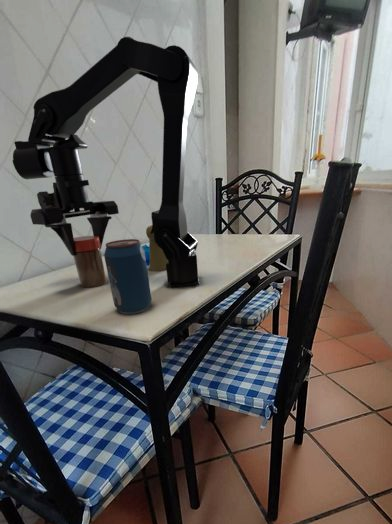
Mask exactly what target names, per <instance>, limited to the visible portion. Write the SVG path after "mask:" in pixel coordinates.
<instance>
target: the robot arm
mask: <svg viewBox="0 0 392 524" xmlns="http://www.w3.org/2000/svg"><path fill="white" fill-rule="evenodd" d="M196 67H197V66H195V64H194V62H193V61H192V59H191V58H190V57H189V55H188V53H187V51H185V49H183V47H181V46H180V45H179V46H178V45H175V44H173V45H168V46H167V47H165V48H163V47H161V46H159V45H156V44H153V43H150V42H145V41H139V40H136V39H134V38H133V37H131V36H123V37H122V38H120V39H119V40H118V42H117V45H115V46H114V47H113V48H112V49H111V50H109V52H107V53H106V54H105V55H104V56H102V57H101V59H99V60H98V61H97V62H96V63H94V64H93V65H92V66H91V67H89V68H88V70H86V71H85V72H84V73H83V74H82V75H80V76H79V77H78V78H77V79H76V80H75V81H74V82H73V83H71V84H70V85H69V86H67V87H65V88H61V89H57V90H54V91H51V92H49V93H47V94H45V95H43V96H40V98H38V99H37V100H36V101H35V102H34V103H33V107H32V108H33V117H32V118H33V119H32V122H31V126H30V130H29V134H28V138H27V141H26V140H25V141H22V140H17V141H14V146H15V149H13V152H12V164H13V167H14V169H15V171H16V173H17V174H18V176H20V177H21V178H22V179H25V180H34V179H35V180H36V179H47V178H49V179H50V178H52V177H53V176H54V180H55V182H52V189H53V192H50V193H49V192H48V191H47V190H46V191H45V190H43V191H38V192H37V193H36V197H37V202H38V205H39V207H40V208H35V209H34V208H33V209H31V211H30V216H29V217H30V219H31V220H30V221H31V223H32V225H40V226H41V225H42V226H44V227H45V228H50V229H51V230H52V231H53V232H55V233H56V235H57V236H58V237H59V238H60V240H61V241H62V243H63V244H64V247H65V248H66V249H67V251H68V252H69V254H70V255H71V256H72V257H73V256H75V255H76V252H75V244H74V238H75V237H74V233H73V227H72V223H71V222H67V219H71V218H76V217H84V216H89V217H86V220H87V222H89V224H90V226H91V230H92V236H99V239H100V243H101V247H100V250H101V249H102V246H103V241H104V239H105V234H106V230H107V227H108V224H109V221H110V220H112V217H113V216H112V215H118V214H120V209H119V205H118V203H116V201H115V200H102V201H100V200H99V201H93V200H92V201H90V200H89V195H88V190H87V186H90V182H89V180H88V179H85V176H84V173H83V172H84V171H83V168H82V167H83V166H82V163H81V158H80V153H79V150H83V149H88V147H89V146H88V144H87V143H86V142H84V141H83V140H82V139H81V138H80V137H79V136H78V135H77V134H76V133H77V132H78V130H80V129H81V127H82V126H83V124H84V123H85V120H86V117H87V116H88V115H89V113H90V112H91V111H92V110H93V109H94V108H96V107H97V106H98V105H100V104H101V103H102V102H104V100H106V99H107V98H108V97H110V96H111V95H112V94H113V93H114V92H116V91H117V90H118V89H119V88H121V87H122V86H123V85H124V84H126V83H127V82H128V81H130V80H131V79H132V78H133V77H135V76H136V75H139V76H142V77H144V78H147V79H149V80H152V81H154V82H155V83H157V91H158V96H159V100H160V104H161V109H162V115H163V132H162V133H163V137H162V138H163V140H162V171H161V172H162V173H161V174H162V176H161V177H162V178H161V203H160V206H159V209H158V210H157V209H156V210H155V211H152V212H151V213H150V214H151V217H150V218H151V225H152V230H151V234H152V233H154V241H155V243H156V244H157V245H158V246H159V247H160V248H161V249H162V250H163V252H164V254H165V257H166V259H168V262H166V270H165V271H166V279H167V283H169V287H170V288H176V287H177V288H178V287H189V286H199V285H200V279H199V271H198V270H199V269H198V258H197V257H198V256H197V252H196V251H197V248H198V244H199V241H198V240H197V239H196V238H195V237H194V236H193V235H192V234H191V233H190V232H188V224H187V223H188V222H187V215H186V210H185V207H184V186H185V172H186V171H185V169H186V154H187V153H186V152H187V137H188V136H187V135H188V121H189V117H190V114H191V111H192V107H193V105H194V101H195V95H196V91H197V86H198V82H199V81H198V80H199V76H198V75H199V74H198V69H197V68H196Z"/></svg>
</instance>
